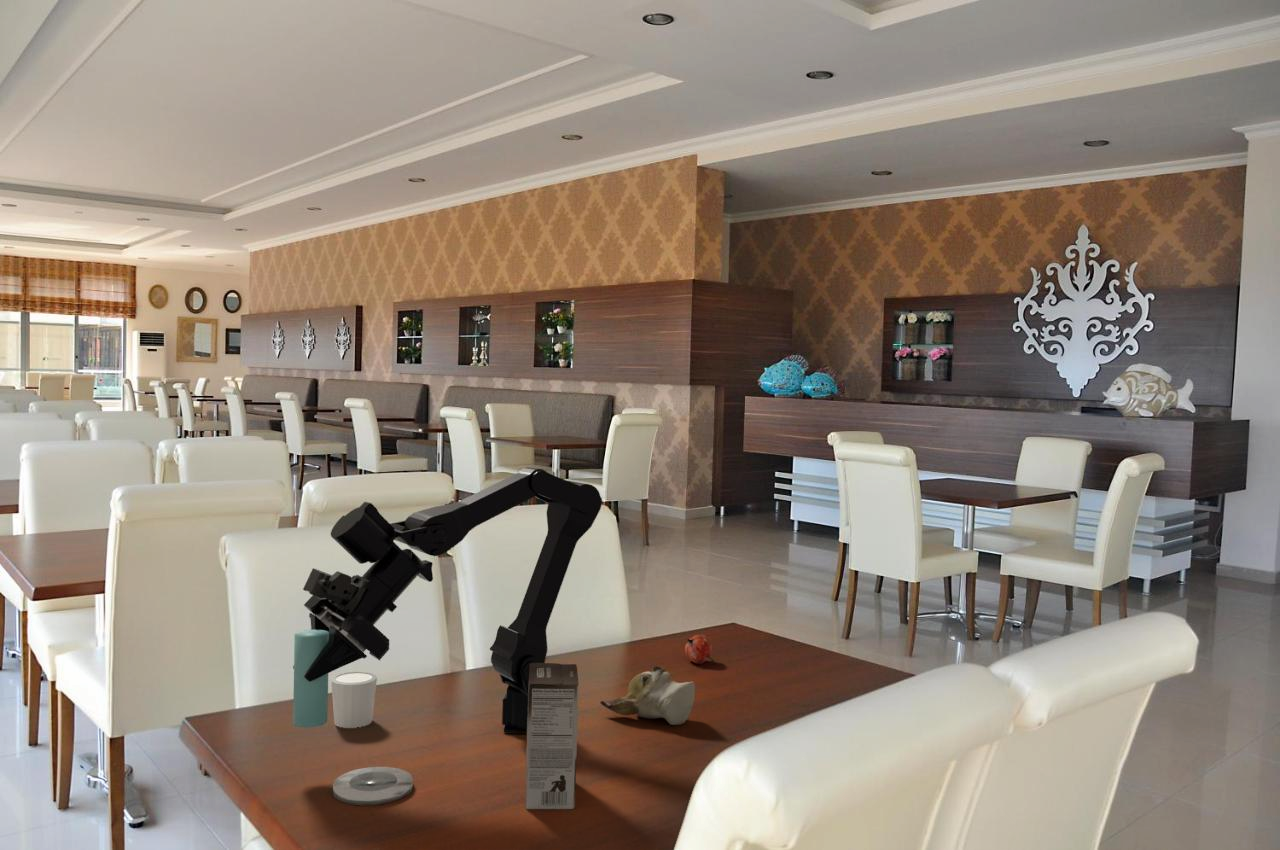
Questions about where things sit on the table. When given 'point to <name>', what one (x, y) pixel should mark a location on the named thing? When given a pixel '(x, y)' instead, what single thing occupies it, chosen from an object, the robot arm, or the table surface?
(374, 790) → the hub disc
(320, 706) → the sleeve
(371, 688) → the white candle cup
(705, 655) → the pomegranate
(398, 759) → the table surface
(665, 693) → the ceramic sculpture
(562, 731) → the coffee box
